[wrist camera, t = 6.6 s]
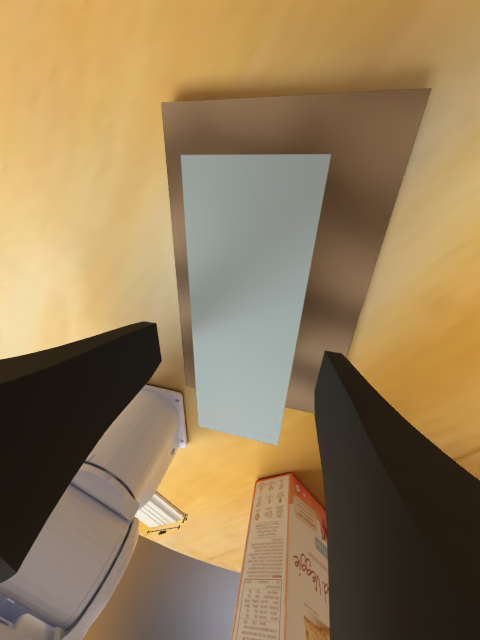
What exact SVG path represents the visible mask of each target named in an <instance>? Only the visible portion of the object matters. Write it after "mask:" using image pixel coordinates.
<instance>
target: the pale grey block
mask: <svg viewBox="0 0 480 640" xmlns="http://www.w3.org/2000/svg"><path fill="white" fill-rule="evenodd" d="M330 158H331V154H275V155H181V168H182V183H183V198H184V214H185V229H186V244H187V260H188V275H189V290H190V306H191V321H192V336H193V352H194V367H195V382H196V398H197V413H198V426H199V427H203V428H207V429H211V430H215V431H219V432H223V433H227V434H231V435H235V436H239V437H243V438H247V439H251V440H255V441H259V442H263V443H267V444H271V445H275V446H278V440H279V435H280V429H281V424H282V418H283V413H284V408H285V402H286V397H287V391H288V386H289V380H290V375H291V370H292V364H293V359H294V353H295V348H296V342H297V337H298V332H299V326H300V321H301V315H302V310H303V304H304V299H305V294H306V288H307V283H308V277H309V272H310V266H311V261H312V256H313V250H314V245H315V239H316V234H317V229H318V223H319V218H320V212H321V207H322V201H323V196H324V191H325V185H326V180H327V174H328V169H329V163H330Z"/></svg>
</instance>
